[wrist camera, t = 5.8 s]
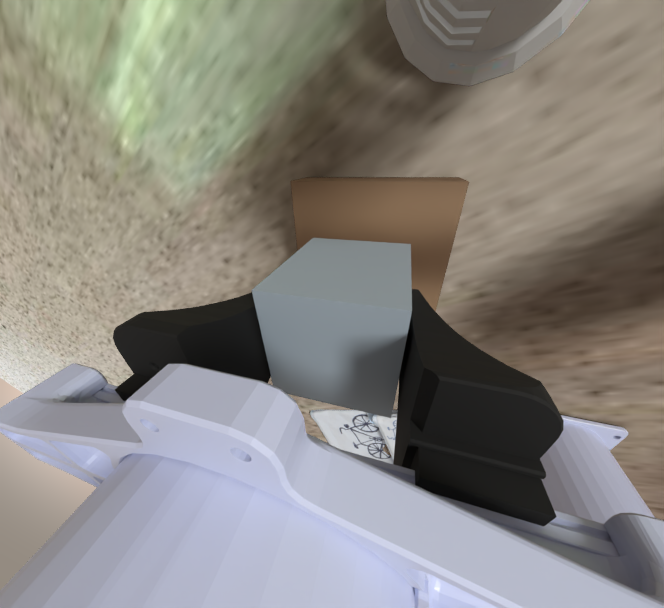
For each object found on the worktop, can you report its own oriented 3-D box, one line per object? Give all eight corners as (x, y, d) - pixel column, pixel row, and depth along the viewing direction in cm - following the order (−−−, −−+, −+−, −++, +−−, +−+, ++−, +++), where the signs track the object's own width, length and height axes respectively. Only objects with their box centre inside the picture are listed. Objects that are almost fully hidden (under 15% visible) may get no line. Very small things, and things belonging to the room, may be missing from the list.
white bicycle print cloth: (483, 493, 32) (487, 512, 31) (347, 474, 41) (345, 489, 39) (470, 401, 24) (475, 420, 23) (304, 401, 33) (299, 415, 31)
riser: (427, 311, 20) (429, 333, 17) (315, 297, 22) (303, 314, 20) (459, 177, 15) (469, 181, 12) (307, 177, 17) (290, 181, 14)
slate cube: (397, 326, 14) (391, 418, 9) (317, 314, 15) (274, 390, 10) (410, 243, 11) (412, 310, 6) (313, 237, 13) (251, 290, 8)
